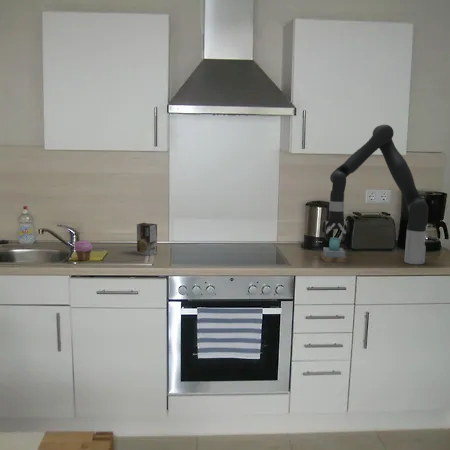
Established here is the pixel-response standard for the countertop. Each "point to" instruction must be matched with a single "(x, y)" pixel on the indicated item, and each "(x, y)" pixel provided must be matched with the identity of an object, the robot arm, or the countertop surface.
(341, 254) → the top block
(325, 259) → the bottom block
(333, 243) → the teal cylinder
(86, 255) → the cupcake
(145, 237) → the coffee box
